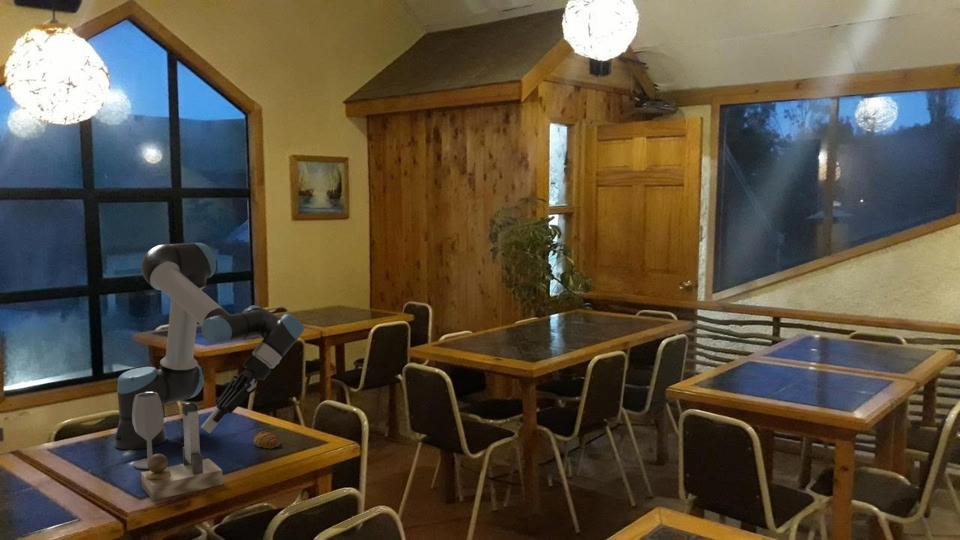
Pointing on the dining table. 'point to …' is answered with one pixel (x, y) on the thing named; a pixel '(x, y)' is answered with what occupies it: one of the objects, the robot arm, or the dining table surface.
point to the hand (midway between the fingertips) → (205, 430)
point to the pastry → (266, 440)
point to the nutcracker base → (179, 476)
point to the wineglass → (147, 421)
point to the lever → (191, 431)
